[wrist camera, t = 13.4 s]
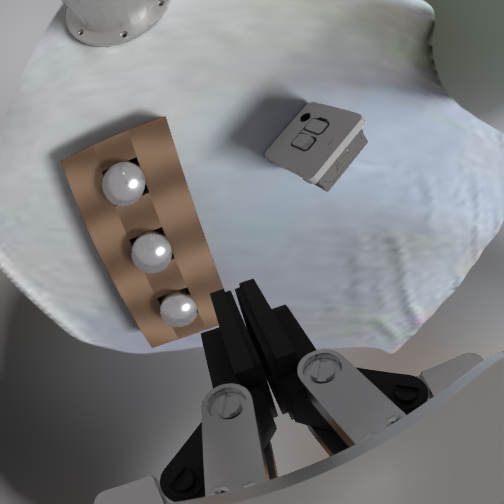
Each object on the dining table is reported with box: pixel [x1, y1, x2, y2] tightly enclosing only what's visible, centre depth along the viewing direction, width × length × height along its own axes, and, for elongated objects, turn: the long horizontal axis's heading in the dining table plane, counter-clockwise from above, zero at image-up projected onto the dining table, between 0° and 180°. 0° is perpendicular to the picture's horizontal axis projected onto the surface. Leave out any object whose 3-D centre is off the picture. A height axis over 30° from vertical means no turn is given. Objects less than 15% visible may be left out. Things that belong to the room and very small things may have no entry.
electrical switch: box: [265, 102, 368, 191], centre depth 30 cm, size 9×5×9 cm, turn 139°
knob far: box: [160, 287, 197, 327], centre depth 35 cm, size 4×4×4 cm
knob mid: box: [131, 227, 172, 273], centre depth 32 cm, size 4×4×4 cm
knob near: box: [102, 159, 147, 206], centre depth 28 cm, size 4×4×4 cm
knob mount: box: [61, 116, 223, 348], centre depth 32 cm, size 26×12×4 cm, turn 15°
